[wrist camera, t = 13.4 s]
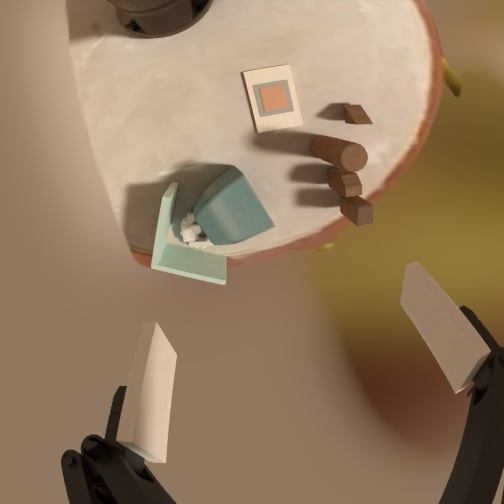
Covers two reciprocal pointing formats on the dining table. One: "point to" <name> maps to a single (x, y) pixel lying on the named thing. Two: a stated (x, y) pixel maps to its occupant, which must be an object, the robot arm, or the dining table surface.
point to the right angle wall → (183, 257)
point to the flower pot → (231, 210)
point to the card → (273, 98)
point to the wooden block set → (347, 168)
